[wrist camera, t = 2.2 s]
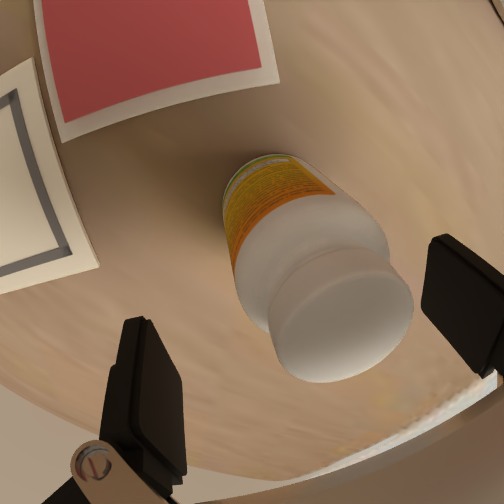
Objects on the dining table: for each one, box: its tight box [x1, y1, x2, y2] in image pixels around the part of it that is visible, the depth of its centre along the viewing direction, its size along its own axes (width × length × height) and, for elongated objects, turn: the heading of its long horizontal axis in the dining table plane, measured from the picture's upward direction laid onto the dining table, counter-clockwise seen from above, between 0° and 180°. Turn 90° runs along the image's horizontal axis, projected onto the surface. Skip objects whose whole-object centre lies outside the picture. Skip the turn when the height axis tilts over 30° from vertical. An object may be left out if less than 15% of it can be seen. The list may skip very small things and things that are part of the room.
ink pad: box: [33, 0, 280, 143], centre depth 10 cm, size 10×10×2 cm
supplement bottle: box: [222, 154, 414, 382], centre depth 12 cm, size 5×5×10 cm
